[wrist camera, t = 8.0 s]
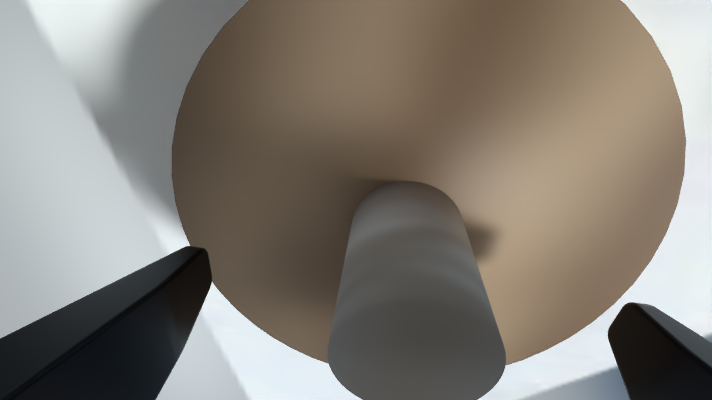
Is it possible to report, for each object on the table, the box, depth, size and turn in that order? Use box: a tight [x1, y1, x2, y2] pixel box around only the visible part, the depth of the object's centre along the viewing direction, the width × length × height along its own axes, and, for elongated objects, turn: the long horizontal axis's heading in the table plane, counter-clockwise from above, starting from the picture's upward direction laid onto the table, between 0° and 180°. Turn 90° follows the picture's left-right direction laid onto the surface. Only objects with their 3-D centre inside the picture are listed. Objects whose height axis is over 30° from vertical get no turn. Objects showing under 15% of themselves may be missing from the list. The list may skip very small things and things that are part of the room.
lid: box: [172, 0, 686, 400], centre depth 8 cm, size 13×13×5 cm
